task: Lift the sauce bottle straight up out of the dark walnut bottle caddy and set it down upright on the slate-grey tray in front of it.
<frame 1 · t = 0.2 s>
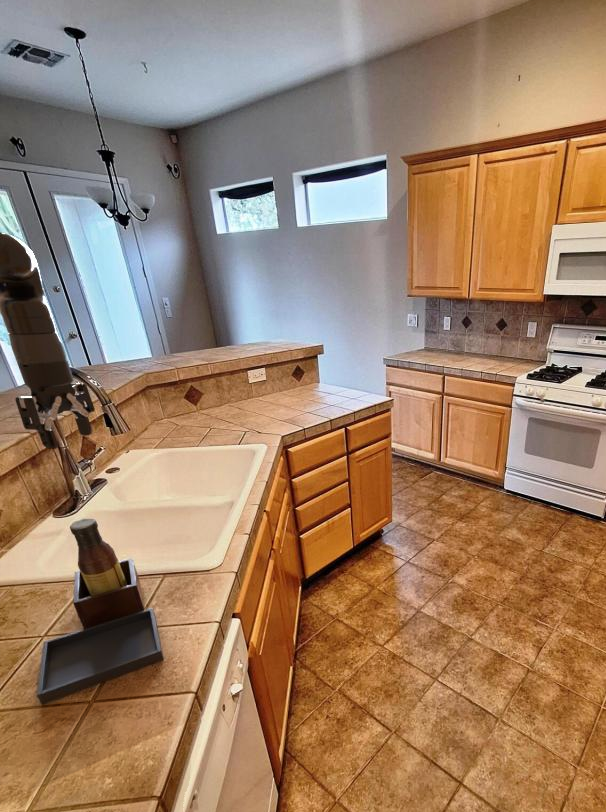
hand: (70, 441, 87), 30 cm above the counter, tool pointing down, fingers open, 8 cm apart
tray: (105, 655, 76), on the counter
caddy: (114, 606, 87), on the counter
sauce bottle: (115, 607, 87), resting in caddy
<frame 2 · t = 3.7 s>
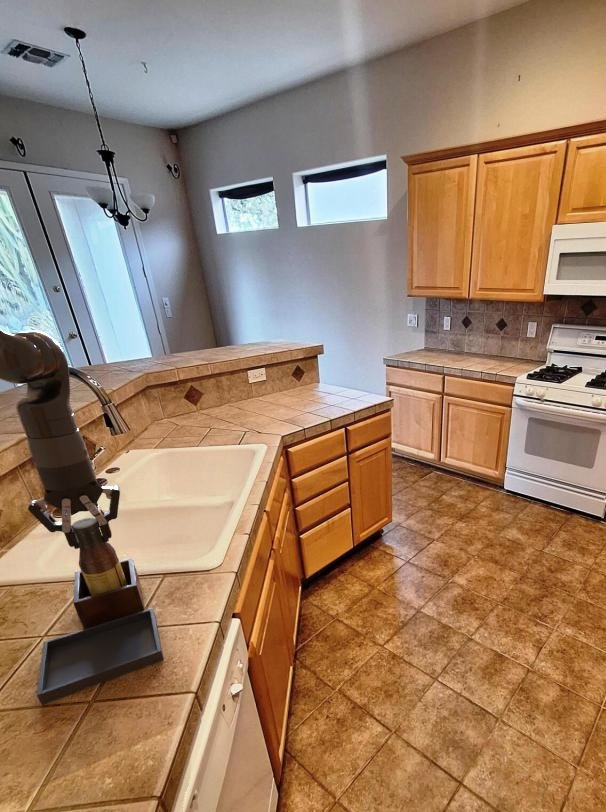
hand: (92, 542, 80), 15 cm above the counter, tool pointing down, fingers closed on sauce bottle, 4 cm apart
sauce bottle: (115, 607, 87), resting in caddy, touching gripper
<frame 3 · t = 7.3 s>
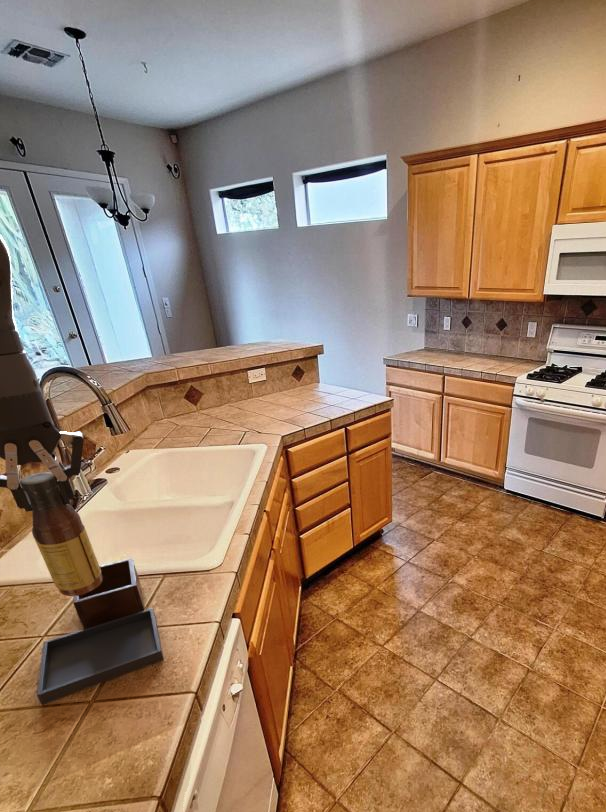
hand: (49, 505, 63), 29 cm above the counter, tool pointing down, fingers closed on sauce bottle, 4 cm apart
sauce bottle: (81, 588, 70), point 14 cm above the counter, touching gripper
when the fingers open (16 cm above the counter, at t = 10.7 s): sauce bottle stays where it is, resting on tray.
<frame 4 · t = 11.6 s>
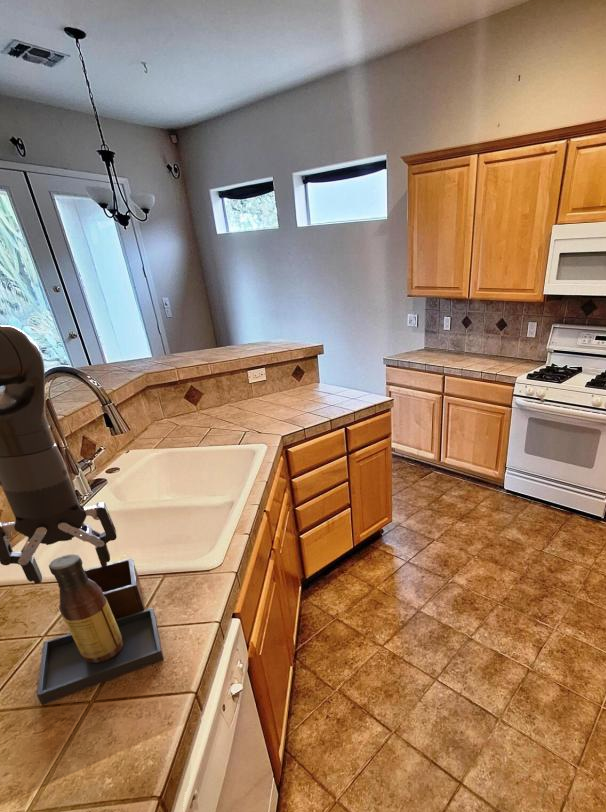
hand: (72, 572, 68), 18 cm above the counter, tool pointing down, fingers open, 8 cm apart
sauce bottle: (104, 653, 76), resting on tray
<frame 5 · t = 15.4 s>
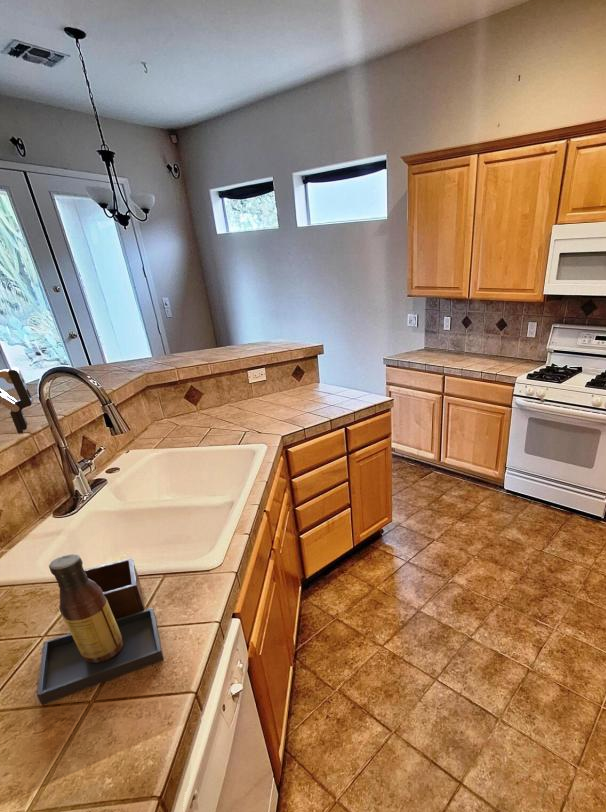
nothing on the counter moved.
at the end: sauce bottle inside the target area in the tray (0.1 cm from its centre), point 0.4 cm above the tray's base; sauce bottle tilted 0°; the gripper is holding nothing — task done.
